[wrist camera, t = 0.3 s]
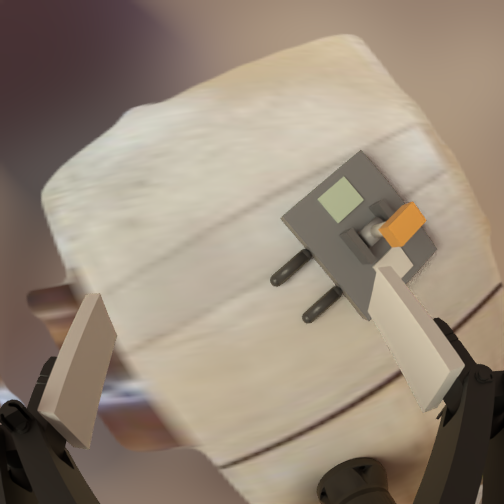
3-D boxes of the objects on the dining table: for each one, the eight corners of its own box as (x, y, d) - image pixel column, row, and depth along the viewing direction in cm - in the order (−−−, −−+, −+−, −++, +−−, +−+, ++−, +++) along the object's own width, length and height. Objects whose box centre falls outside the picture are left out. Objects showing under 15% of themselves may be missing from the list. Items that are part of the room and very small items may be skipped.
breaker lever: (384, 230, 47) (426, 220, 34) (364, 250, 46) (402, 246, 33) (373, 216, 47) (412, 201, 34) (352, 235, 46) (387, 226, 33)
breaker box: (428, 249, 50) (449, 248, 43) (327, 349, 49) (339, 361, 42) (355, 155, 50) (369, 141, 43) (242, 251, 50) (241, 249, 43)
